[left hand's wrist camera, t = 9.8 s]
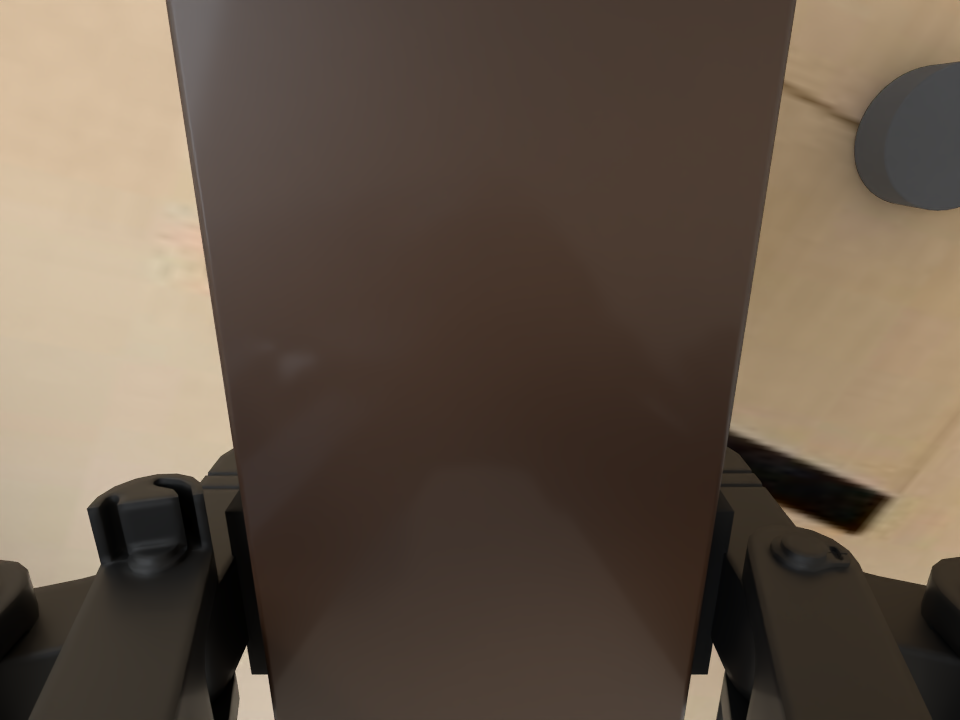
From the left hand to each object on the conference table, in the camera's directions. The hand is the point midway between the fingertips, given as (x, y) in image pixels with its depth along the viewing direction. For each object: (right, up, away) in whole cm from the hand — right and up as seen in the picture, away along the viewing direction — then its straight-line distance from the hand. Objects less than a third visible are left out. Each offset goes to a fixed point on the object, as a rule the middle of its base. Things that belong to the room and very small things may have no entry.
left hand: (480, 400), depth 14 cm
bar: (0, +8, -3) cm, 9 cm away
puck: (+17, +9, +9) cm, 21 cm away
